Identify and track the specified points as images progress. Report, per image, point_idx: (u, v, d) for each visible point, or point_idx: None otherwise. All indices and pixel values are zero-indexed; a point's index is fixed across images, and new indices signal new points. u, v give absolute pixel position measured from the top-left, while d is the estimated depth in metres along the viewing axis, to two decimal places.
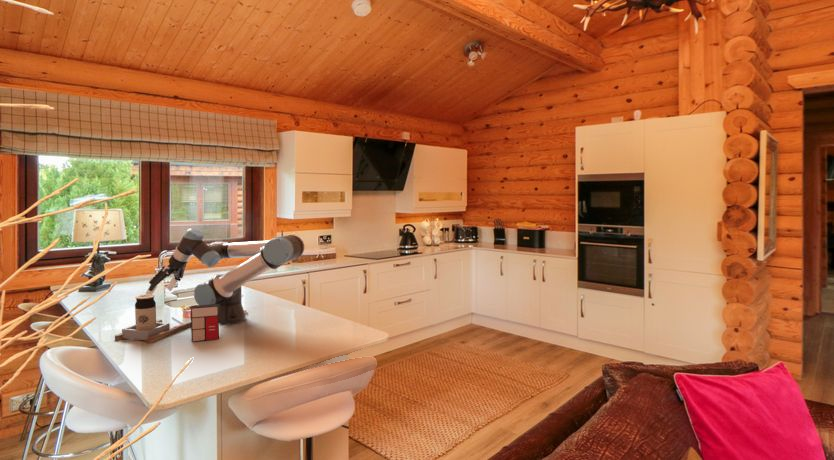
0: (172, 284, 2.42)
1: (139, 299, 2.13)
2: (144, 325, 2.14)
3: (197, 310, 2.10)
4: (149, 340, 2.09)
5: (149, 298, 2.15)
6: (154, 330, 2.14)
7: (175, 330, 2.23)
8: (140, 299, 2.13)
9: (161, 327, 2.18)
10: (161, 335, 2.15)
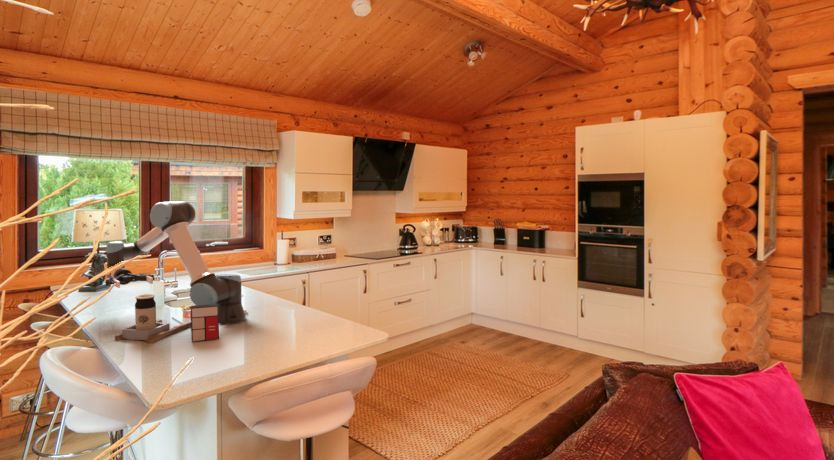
0: (148, 278, 2.32)
1: (139, 299, 2.13)
2: (144, 325, 2.14)
3: (197, 310, 2.10)
4: (149, 340, 2.09)
5: (149, 298, 2.15)
6: (154, 330, 2.14)
7: (175, 330, 2.23)
8: (140, 299, 2.13)
9: (161, 327, 2.18)
10: (161, 335, 2.15)
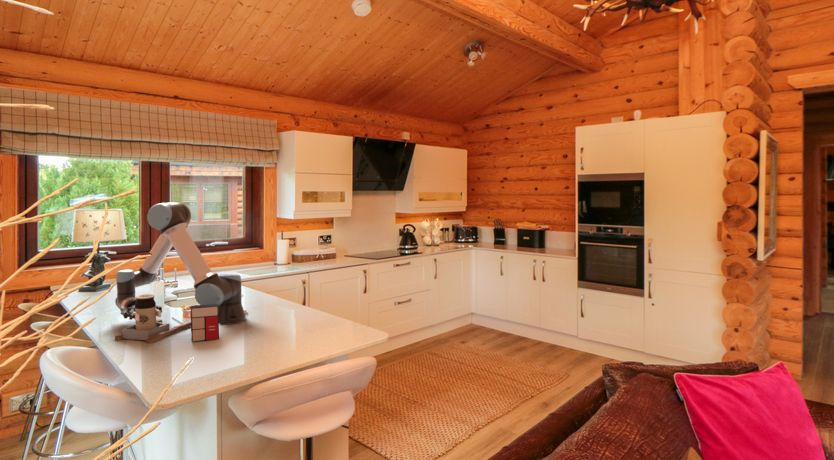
0: (156, 311, 2.19)
1: (139, 299, 2.13)
2: (144, 325, 2.14)
3: (197, 310, 2.10)
4: (149, 340, 2.09)
5: (149, 298, 2.15)
6: (154, 330, 2.14)
7: (175, 330, 2.23)
8: (140, 299, 2.13)
9: (161, 327, 2.18)
10: (161, 335, 2.15)
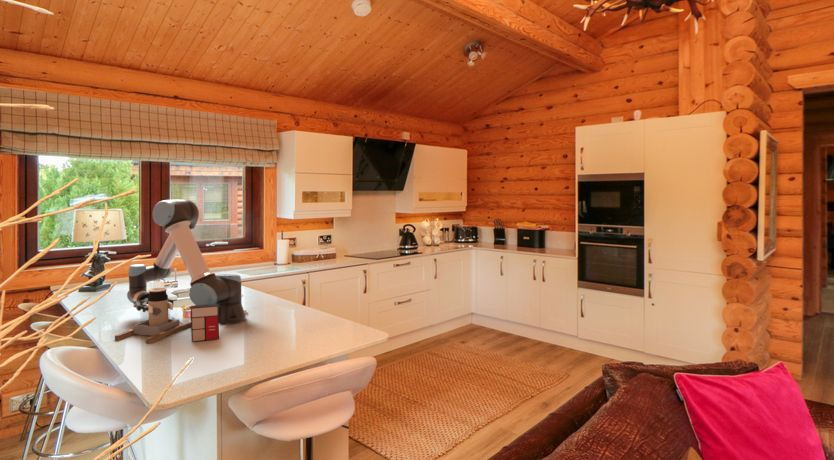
0: (168, 304, 2.27)
1: (152, 292, 2.21)
2: (157, 317, 2.22)
3: (197, 310, 2.10)
4: (149, 340, 2.09)
5: (162, 291, 2.22)
6: (165, 326, 2.20)
7: (175, 330, 2.23)
8: (153, 292, 2.21)
9: (171, 323, 2.24)
10: (161, 335, 2.15)
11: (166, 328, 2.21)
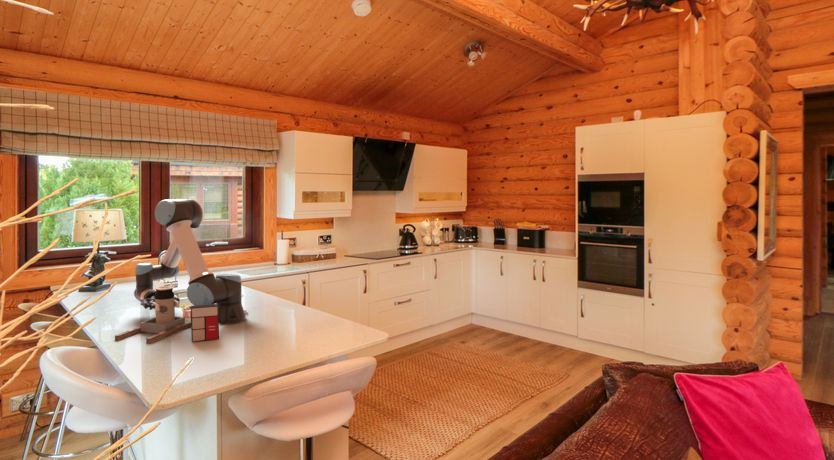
0: (174, 302, 2.31)
1: (159, 290, 2.25)
2: (163, 314, 2.25)
3: (197, 310, 2.10)
4: (149, 340, 2.09)
5: (168, 289, 2.26)
6: (171, 324, 2.24)
7: (175, 330, 2.23)
8: (160, 290, 2.25)
9: (177, 321, 2.28)
10: (161, 335, 2.15)
11: (172, 326, 2.25)
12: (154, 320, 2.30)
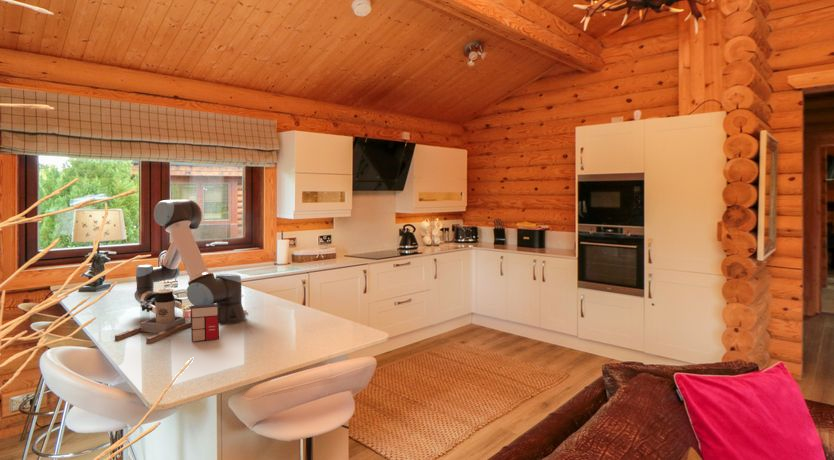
0: (177, 303, 2.32)
1: (159, 293, 2.25)
2: (163, 317, 2.26)
3: (197, 310, 2.10)
4: (149, 340, 2.09)
5: (168, 292, 2.26)
6: (171, 323, 2.24)
7: (175, 330, 2.23)
8: (160, 293, 2.25)
9: (178, 321, 2.28)
10: (161, 335, 2.15)
11: (173, 325, 2.25)
12: (155, 320, 2.31)
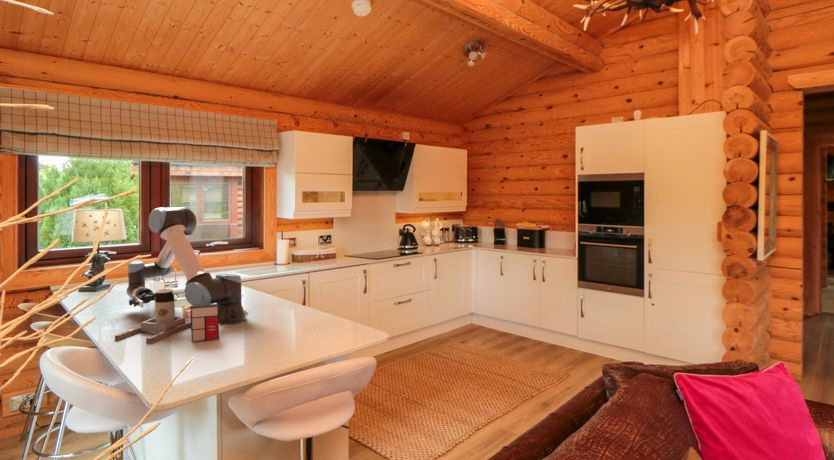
0: None
1: (159, 293, 2.25)
2: (163, 317, 2.26)
3: (197, 310, 2.10)
4: (149, 340, 2.09)
5: (168, 292, 2.26)
6: (171, 323, 2.24)
7: (175, 330, 2.23)
8: (160, 293, 2.25)
9: (178, 321, 2.28)
10: (161, 335, 2.15)
11: (173, 325, 2.25)
12: (155, 320, 2.31)
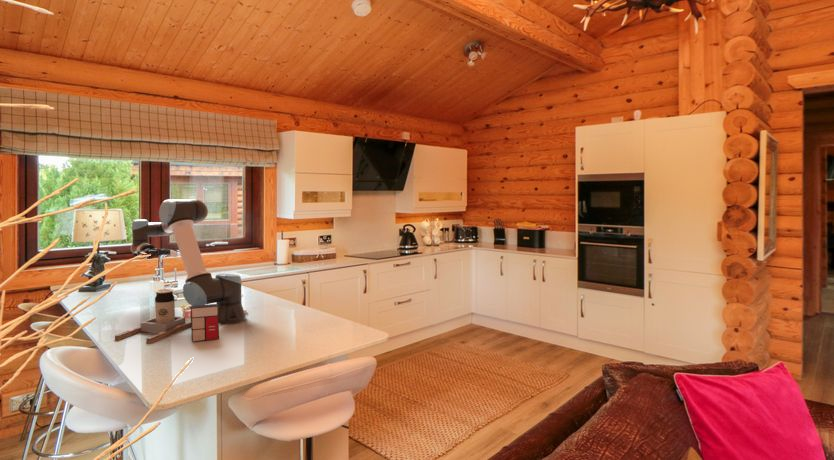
0: (172, 252, 2.50)
1: (159, 293, 2.25)
2: (163, 317, 2.26)
3: (197, 310, 2.10)
4: (149, 340, 2.09)
5: (168, 292, 2.26)
6: (171, 323, 2.24)
7: (175, 330, 2.23)
8: (160, 293, 2.25)
9: (178, 321, 2.28)
10: (161, 335, 2.15)
11: (173, 325, 2.25)
12: (155, 320, 2.31)
